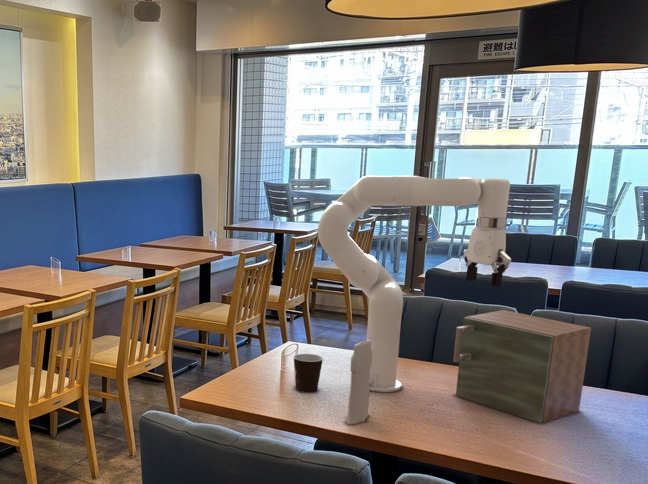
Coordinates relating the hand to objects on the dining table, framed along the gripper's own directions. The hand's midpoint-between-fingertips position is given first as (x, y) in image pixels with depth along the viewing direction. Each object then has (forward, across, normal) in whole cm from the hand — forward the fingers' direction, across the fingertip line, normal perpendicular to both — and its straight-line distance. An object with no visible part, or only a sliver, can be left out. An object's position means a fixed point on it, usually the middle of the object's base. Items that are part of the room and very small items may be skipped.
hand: (483, 283), depth 206 cm
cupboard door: (+33, +13, -4) cm, 36 cm away
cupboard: (+34, +10, +8) cm, 36 cm away
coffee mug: (+34, -20, -42) cm, 58 cm away
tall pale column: (+34, +8, -43) cm, 56 cm away
